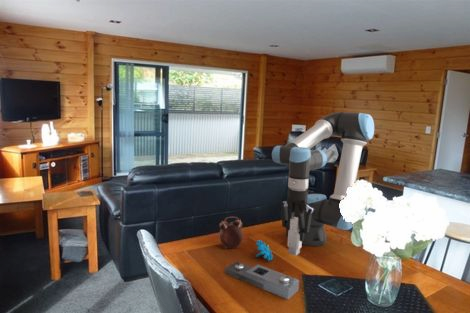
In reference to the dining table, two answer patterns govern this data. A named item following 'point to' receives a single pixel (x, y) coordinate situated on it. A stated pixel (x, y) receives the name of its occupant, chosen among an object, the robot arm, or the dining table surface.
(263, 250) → the blue bumpy figurine
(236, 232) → the alarm clock
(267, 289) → the grey studded bar
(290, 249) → the steel pin
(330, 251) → the dining table surface
